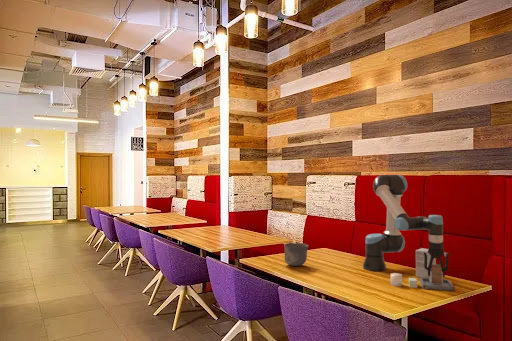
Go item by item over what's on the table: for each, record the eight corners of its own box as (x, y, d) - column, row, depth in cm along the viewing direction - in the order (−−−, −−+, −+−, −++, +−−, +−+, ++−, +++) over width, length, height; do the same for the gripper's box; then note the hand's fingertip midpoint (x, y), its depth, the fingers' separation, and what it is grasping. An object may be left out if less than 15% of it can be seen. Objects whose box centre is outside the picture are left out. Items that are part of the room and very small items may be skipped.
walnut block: (430, 281, 219) (430, 264, 219) (440, 281, 218) (440, 264, 218) (432, 283, 214) (432, 266, 215) (441, 284, 213) (441, 266, 213)
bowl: (312, 264, 268) (312, 243, 269) (303, 270, 253) (303, 248, 253) (289, 262, 277) (289, 241, 277) (280, 267, 261) (279, 245, 261)
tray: (419, 281, 226) (419, 277, 226) (448, 283, 221) (448, 279, 221) (423, 288, 211) (423, 284, 211) (454, 291, 206) (454, 287, 206)
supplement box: (421, 273, 243) (421, 247, 243) (436, 276, 236) (436, 249, 236) (415, 276, 236) (415, 250, 236) (430, 279, 229) (430, 252, 230)
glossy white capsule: (390, 282, 223) (390, 272, 223) (401, 283, 221) (401, 273, 221) (390, 285, 217) (390, 275, 217) (402, 286, 215) (402, 276, 215)
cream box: (408, 284, 220) (408, 277, 220) (416, 285, 218) (415, 278, 218) (409, 287, 214) (409, 280, 214) (417, 288, 213) (417, 281, 213)
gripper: (419, 242, 215) (420, 282, 215) (454, 243, 210) (454, 285, 210) (418, 240, 223) (418, 279, 222) (451, 241, 217) (452, 281, 217)
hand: (436, 282), depth 216 cm, fingers closed on walnut block, 5 cm apart
